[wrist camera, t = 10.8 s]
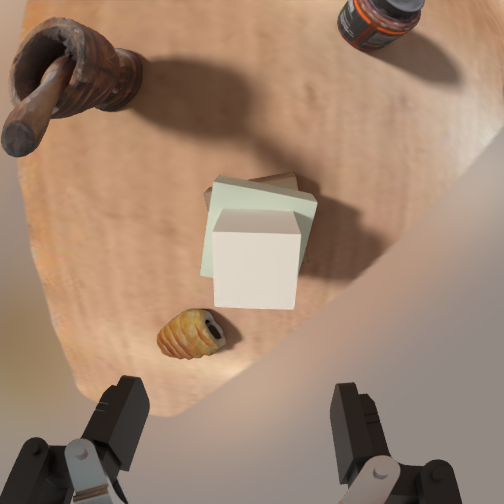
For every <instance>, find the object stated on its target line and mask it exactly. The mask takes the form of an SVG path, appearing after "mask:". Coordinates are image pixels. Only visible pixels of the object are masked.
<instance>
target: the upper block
mask: <svg viewBox="0 0 504 504" xmlns="http://www.w3.org/2000/svg"><path fill="white" fill-rule="evenodd" d="M317 203H318V202H317V201H316V199H315V198H314V196H313V195H312V194H311V193H306V192H302V191H297V190H292V189H288V188H283V187H278V186H273V185H268V184H263V183H258V182H253V181H248V180H242V179H237V178H232V177H226V176H220V175H219V176H218V177H217V178H216V180H215V181H214V182H213V188H212V194H211V201H210V207H209V214H208V220H207V227H206V234H205V241H204V249H203V256H202V263H201V271H200V275H201V276H206V277H211V278H214V277H213V246H212V231H213V229H214V226H215V224H216V222H217V220H218V218H219V215H220V213H221V211H222V209H257V210H285V211H293V213H294V216H295V218H296V221H297V224H298V227H299V230H300V233H301V242H300V253H299V265H298V274H299V270H300V267H301V263H302V260H303V256H304V252H305V249H306V245H307V241H308V238H309V234H310V230H311V226H312V223H313V219H314V215H315V211H316V207H317ZM297 277H298V275H297Z"/></svg>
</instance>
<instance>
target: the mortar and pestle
mask: <svg viewBox="0 0 504 504" xmlns="http://www.w3.org/2000/svg"><path fill="white" fill-rule="evenodd" d="M141 79H142V67H141V63H140V61H139V59H138V58H137V56H136V55H135V54H133V53H132V52H130V51H127V50H125V49H121V48H114V47H113V46H112V44H111V43H110V42H109V41H108V40H107V39H106V38H105V37H104V36H102V35H101V34H100V33H98V32H97V31H95V30H93V29H91V28H89V27H86V26H84V25H82V24H80V23H78V22H76V21H74V20H71V19H67V18H61V17H52V18H49V19H47V20H45V21H44V22H43V23H41V24H39V25H38V26H37V27H36V28H34V29H33V30H32V31H31V32H30V33H29V34H28V35H27V36H26V38H25V39H24V41H23V42H22V43H21V45H20V46H19V50H18V51H17V53H16V55H15V57H14V59H13V62H12V67H11V70H10V74H9V94H10V98H11V103H12V105H13V107H14V108H15V109H14V110H13V111H12V112H11V113H10V114H9V116H8V118H7V120H6V121H5V124H4V126H3V131H2V136H1V143H2V147H3V149H4V150H5V151H6V153H7V154H8V155H10V156H13V157H23V156H26V155H28V154H29V153H31V152H33V151H34V150H35V149H36V148H37V147H38V145H39V144H40V142H41V140H42V138H43V136H44V134H45V132H46V129H47V127H48V124H49V121H50V119H60V118H65V117H70V116H73V115H75V114H78V113H81V112H84V111H85V110H87V109H90V108H93V107H95V108H97V109H100V110H102V111H112V110H116V109H118V108H120V107H121V106H123V105H125V104H126V103H128V102H129V101H130V100H131V99H132V98H133V97H134V96H135V94H136V93H137V91H138V90H139V87H140V84H141Z"/></svg>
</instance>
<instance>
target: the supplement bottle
mask: <svg viewBox="0 0 504 504" xmlns="http://www.w3.org/2000/svg"><path fill="white" fill-rule="evenodd" d="M423 5H424V0H348V1H347V2H346V4H345V5H344V7H343V9H342V10H341V12H340V14H339V16H338V20H337V24H338V29H339V31H340V33H341V35H342V37H343V38H344V39H345V40H346V41H347V42H348V43H349V44H351V45H352V46H354V47H356V48H358V49H361V50H365V51H375V50H378V49H381V48H383V47H384V46H386V45H387V44H389V43H390V42H392V41H394V40H395V39H397V38H399V37H400V36H402V35H403V34H405V33H407V32H408V31H410V30H411V29H413V28H414V27H415V26H416V25H417V23H418V22H419V20H420V16H421V8H422V7H423Z"/></svg>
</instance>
